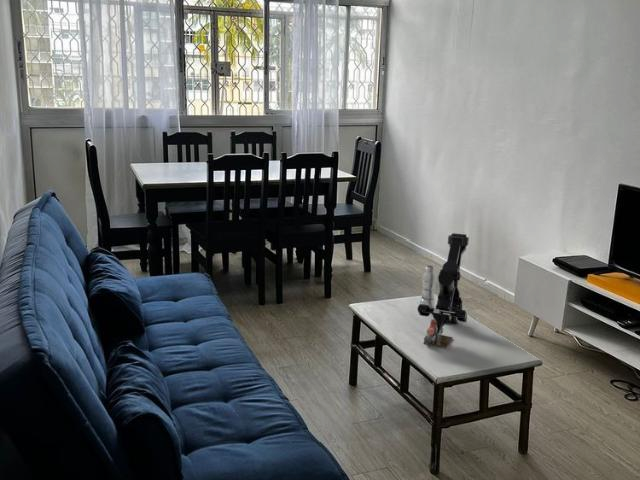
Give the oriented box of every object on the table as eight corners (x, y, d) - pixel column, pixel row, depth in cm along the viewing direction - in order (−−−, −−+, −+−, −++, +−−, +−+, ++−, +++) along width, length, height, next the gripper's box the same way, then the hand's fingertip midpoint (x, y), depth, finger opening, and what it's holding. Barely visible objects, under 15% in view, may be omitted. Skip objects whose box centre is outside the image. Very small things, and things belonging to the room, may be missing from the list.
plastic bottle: (426, 304, 290) (429, 263, 284) (437, 308, 285) (440, 267, 279) (416, 307, 286) (419, 266, 280) (428, 312, 281) (431, 269, 275)
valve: (431, 333, 258) (432, 318, 256) (453, 338, 254) (454, 323, 252) (422, 344, 248) (423, 329, 246) (444, 349, 244) (446, 333, 242)
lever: (439, 323, 251) (439, 317, 250) (434, 335, 239) (435, 329, 239) (431, 322, 252) (431, 316, 251) (426, 334, 240) (426, 328, 240)
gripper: (471, 308, 250) (464, 344, 244) (426, 301, 258) (418, 336, 251) (468, 296, 241) (461, 333, 235) (421, 290, 249) (413, 326, 242)
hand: (438, 333), depth 241 cm, fingers closed
